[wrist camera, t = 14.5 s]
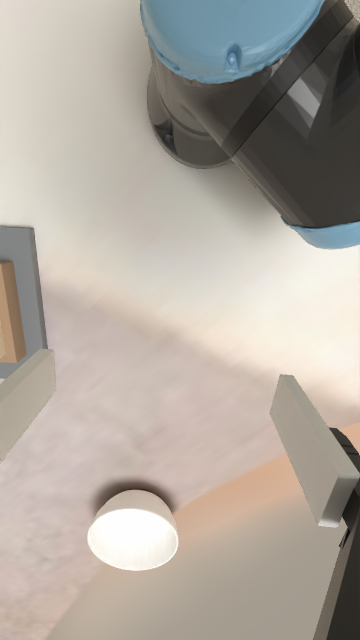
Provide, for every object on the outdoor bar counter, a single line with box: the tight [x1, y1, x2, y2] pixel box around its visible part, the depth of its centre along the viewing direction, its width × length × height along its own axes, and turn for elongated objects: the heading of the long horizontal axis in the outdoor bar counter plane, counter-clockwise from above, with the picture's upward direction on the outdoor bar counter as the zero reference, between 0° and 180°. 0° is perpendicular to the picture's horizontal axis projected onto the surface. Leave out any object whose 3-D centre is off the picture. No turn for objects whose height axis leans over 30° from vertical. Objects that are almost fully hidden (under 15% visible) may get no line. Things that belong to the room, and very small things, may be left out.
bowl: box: [87, 490, 178, 570], centre depth 59 cm, size 18×18×7 cm
